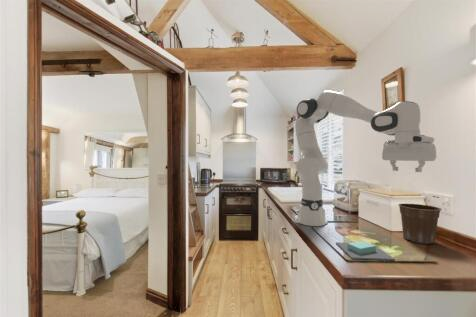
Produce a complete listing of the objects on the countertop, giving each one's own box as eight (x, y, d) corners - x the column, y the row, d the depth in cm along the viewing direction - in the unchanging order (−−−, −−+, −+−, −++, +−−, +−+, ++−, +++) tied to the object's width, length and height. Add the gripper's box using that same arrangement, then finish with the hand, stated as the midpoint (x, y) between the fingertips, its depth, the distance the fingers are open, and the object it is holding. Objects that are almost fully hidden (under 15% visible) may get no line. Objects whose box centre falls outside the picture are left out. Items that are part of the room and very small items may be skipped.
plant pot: (393, 232, 122) (393, 202, 122) (430, 236, 117) (431, 204, 117) (404, 243, 107) (405, 208, 107) (448, 248, 102) (449, 211, 102)
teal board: (363, 240, 101) (347, 243, 98) (376, 245, 95) (359, 248, 92) (363, 246, 101) (347, 248, 98) (376, 251, 95) (359, 254, 92)
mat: (335, 243, 105) (335, 242, 105) (372, 244, 104) (372, 243, 104) (351, 259, 89) (351, 257, 89) (395, 260, 88) (395, 259, 88)
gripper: (379, 140, 109) (378, 170, 109) (429, 137, 90) (428, 173, 90) (388, 141, 111) (387, 170, 111) (439, 137, 92) (438, 172, 92)
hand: (406, 171), depth 101 cm, fingers open, 8 cm apart
